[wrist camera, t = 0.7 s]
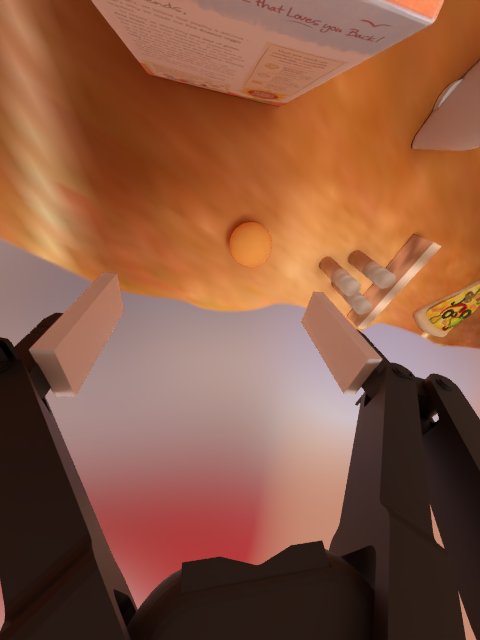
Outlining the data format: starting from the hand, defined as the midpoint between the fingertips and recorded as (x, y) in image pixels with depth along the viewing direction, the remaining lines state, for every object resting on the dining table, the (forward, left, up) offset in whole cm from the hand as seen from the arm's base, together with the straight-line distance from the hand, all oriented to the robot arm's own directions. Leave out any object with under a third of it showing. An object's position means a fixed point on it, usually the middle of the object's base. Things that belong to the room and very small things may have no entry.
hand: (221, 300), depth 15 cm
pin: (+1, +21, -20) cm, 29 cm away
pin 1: (+3, +25, -20) cm, 33 cm away
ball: (+1, +6, -17) cm, 18 cm away
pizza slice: (-1, +58, -21) cm, 62 cm away
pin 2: (-2, +25, -20) cm, 32 cm away
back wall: (+1, +34, -20) cm, 39 cm away
